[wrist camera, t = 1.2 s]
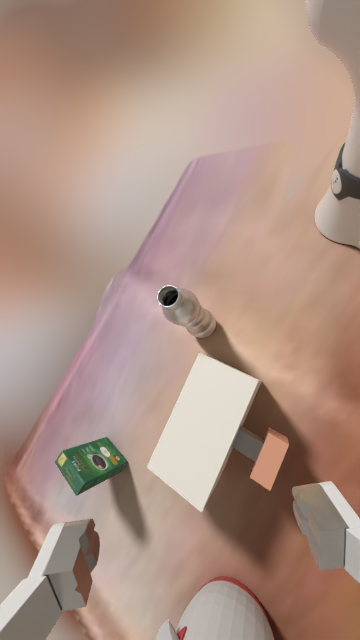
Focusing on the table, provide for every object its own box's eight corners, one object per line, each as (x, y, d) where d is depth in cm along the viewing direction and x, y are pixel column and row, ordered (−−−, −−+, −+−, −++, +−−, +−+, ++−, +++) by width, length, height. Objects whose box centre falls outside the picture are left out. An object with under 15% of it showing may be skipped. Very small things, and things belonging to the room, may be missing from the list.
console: (261, 381, 45) (258, 380, 33) (220, 477, 43) (201, 512, 32) (216, 359, 49) (199, 352, 38) (177, 446, 48) (146, 467, 36)
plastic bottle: (211, 343, 51) (178, 322, 33) (185, 333, 53) (142, 308, 35) (222, 317, 51) (195, 282, 33) (196, 308, 54) (158, 271, 36)
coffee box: (99, 445, 54) (52, 462, 43) (106, 435, 54) (60, 449, 43) (121, 471, 51) (76, 498, 39) (128, 461, 51) (85, 484, 39)
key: (287, 437, 37) (289, 444, 33) (270, 477, 37) (270, 491, 32) (230, 405, 42) (225, 408, 37) (215, 441, 41) (208, 449, 37)
